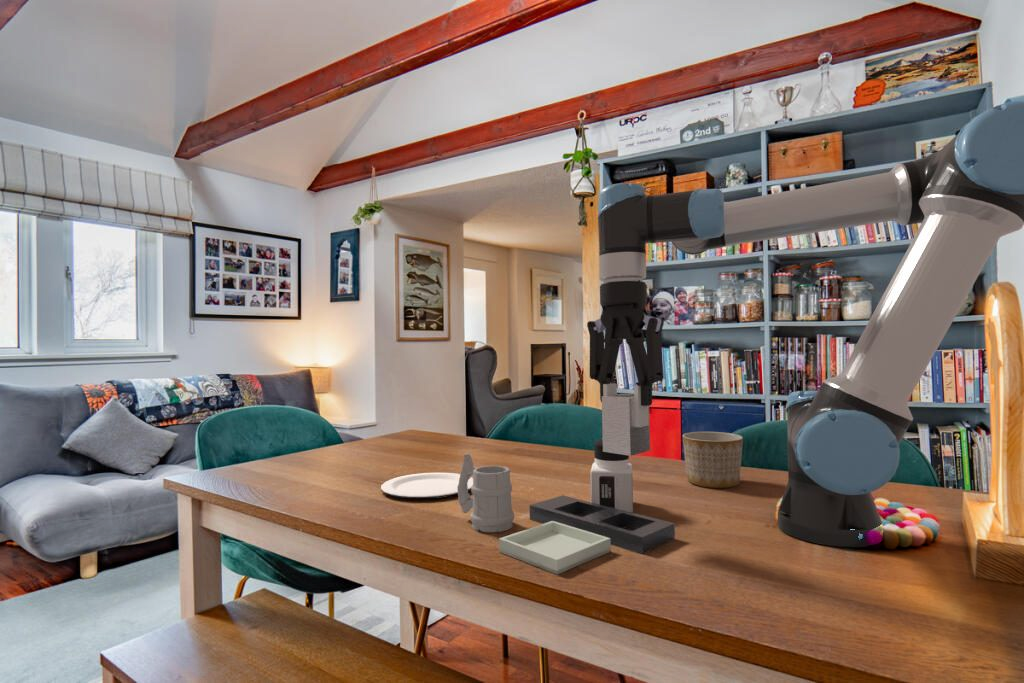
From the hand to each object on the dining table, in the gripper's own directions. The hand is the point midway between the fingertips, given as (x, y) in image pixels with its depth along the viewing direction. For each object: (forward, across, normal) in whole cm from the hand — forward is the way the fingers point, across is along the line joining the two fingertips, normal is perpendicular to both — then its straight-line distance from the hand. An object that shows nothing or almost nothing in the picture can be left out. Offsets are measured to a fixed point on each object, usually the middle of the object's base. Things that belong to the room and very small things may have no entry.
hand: (625, 424), depth 92 cm
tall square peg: (+4, 0, 0) cm, 4 cm away
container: (+19, +12, -12) cm, 25 cm away
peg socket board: (+18, +6, 0) cm, 19 cm away
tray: (+18, +4, +13) cm, 23 cm away
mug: (+19, +22, +12) cm, 31 cm away
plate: (+19, +49, +5) cm, 53 cm away
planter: (+19, +7, -42) cm, 46 cm away
